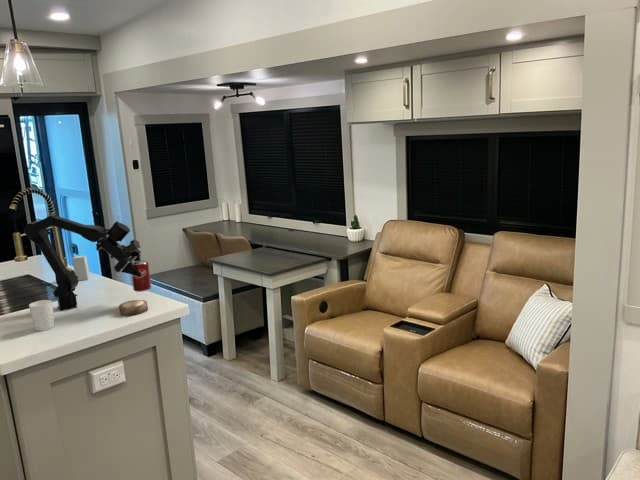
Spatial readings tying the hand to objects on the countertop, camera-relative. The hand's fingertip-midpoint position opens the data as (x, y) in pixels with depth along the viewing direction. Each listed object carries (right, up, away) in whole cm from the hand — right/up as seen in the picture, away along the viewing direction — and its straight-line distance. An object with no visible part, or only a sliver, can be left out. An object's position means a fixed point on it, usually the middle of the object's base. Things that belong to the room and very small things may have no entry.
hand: (143, 273), depth 224 cm
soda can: (-1, -7, +2) cm, 7 cm away
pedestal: (-2, -15, -7) cm, 17 cm away
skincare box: (-47, -6, +48) cm, 67 cm away
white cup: (-31, -20, -20) cm, 42 cm away
